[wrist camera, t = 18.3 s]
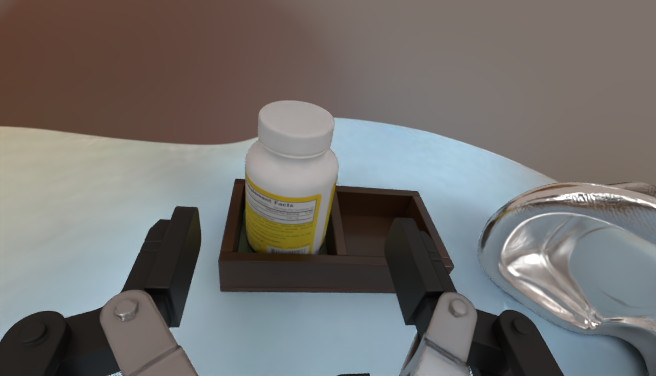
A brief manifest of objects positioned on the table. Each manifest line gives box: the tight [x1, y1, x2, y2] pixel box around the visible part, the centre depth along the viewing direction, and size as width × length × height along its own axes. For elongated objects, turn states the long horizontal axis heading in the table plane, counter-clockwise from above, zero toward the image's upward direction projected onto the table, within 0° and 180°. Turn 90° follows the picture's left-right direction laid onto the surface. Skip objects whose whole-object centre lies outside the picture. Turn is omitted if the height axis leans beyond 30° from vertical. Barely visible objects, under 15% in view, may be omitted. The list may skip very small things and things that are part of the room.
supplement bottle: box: [245, 101, 339, 255], centre depth 20 cm, size 5×5×10 cm
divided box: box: [218, 179, 454, 293], centre depth 23 cm, size 8×14×3 cm, turn 95°
